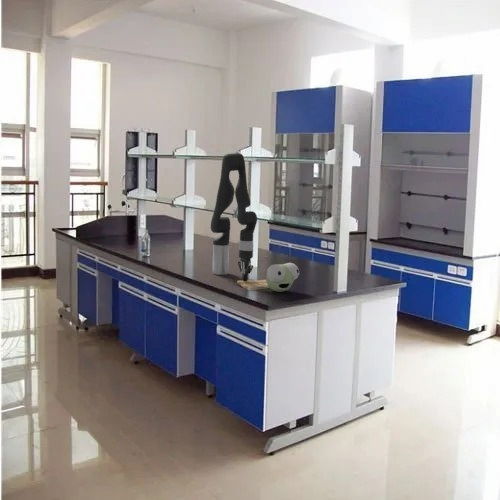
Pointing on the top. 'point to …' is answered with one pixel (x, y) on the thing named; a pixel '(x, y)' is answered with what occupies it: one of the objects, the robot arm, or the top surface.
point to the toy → (281, 276)
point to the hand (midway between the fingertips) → (244, 280)
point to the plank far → (260, 282)
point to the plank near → (246, 283)
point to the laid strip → (257, 287)
